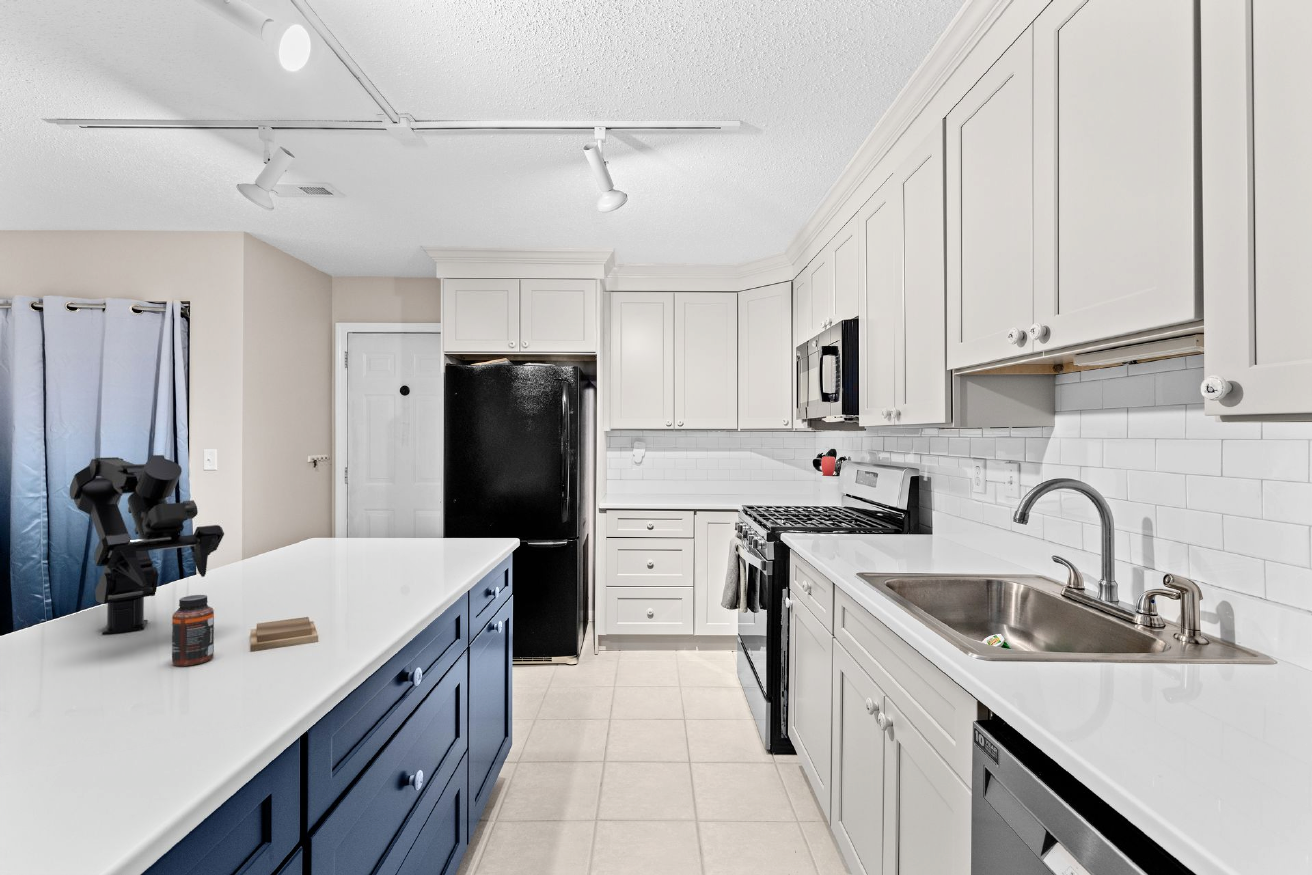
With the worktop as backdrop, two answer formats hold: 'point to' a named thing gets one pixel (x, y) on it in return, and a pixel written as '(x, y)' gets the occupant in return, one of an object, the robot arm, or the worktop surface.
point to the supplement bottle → (192, 631)
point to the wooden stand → (283, 633)
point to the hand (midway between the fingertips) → (175, 579)
